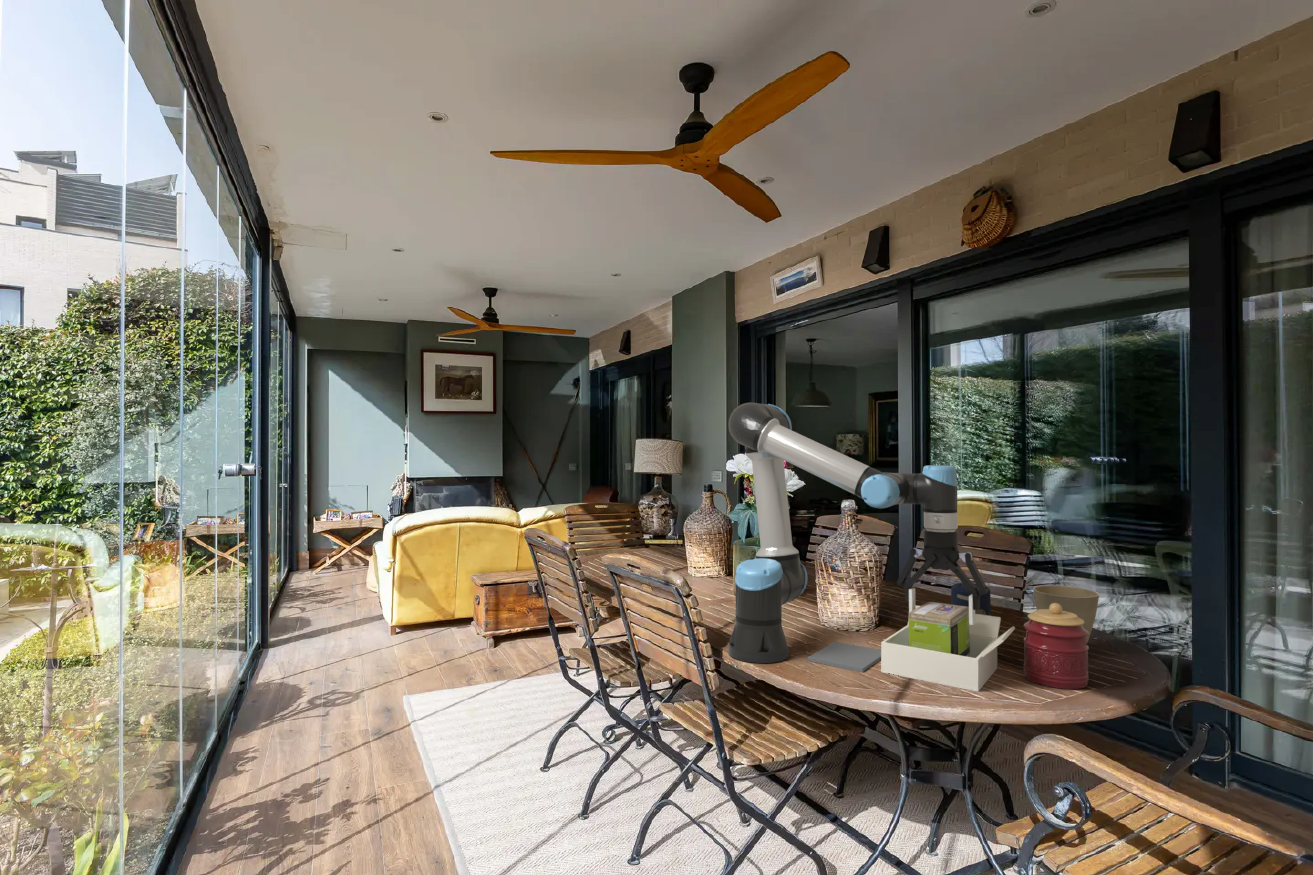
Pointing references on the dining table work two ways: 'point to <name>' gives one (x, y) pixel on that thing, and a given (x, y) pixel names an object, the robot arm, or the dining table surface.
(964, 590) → the canister
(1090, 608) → the plant pot
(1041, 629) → the canister
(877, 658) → the mat
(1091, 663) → the dining table surface
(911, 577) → the robot arm
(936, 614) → the tea box
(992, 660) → the carton
